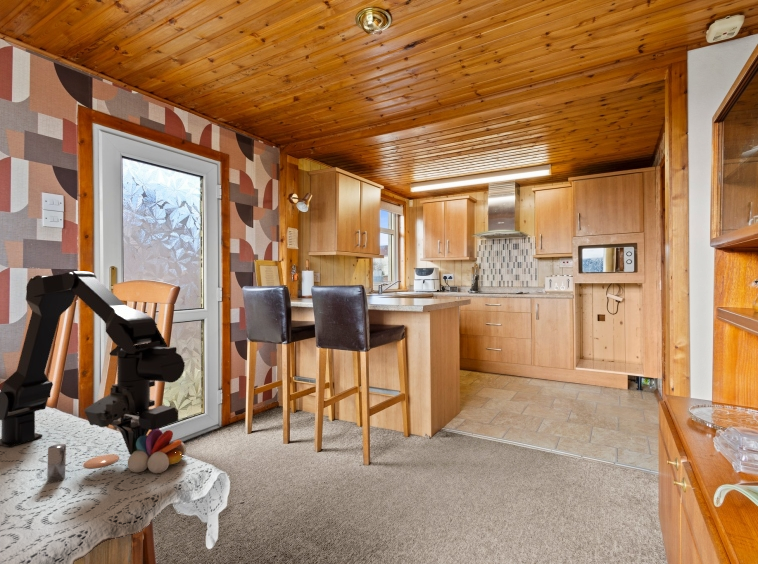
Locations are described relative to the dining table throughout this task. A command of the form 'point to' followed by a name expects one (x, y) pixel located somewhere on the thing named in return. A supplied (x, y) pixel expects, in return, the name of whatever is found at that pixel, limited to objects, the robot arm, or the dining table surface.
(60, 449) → the steel peg
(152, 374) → the robot arm
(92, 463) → the marker disc
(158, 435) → the rainbow petal ball
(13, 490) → the dining table surface
